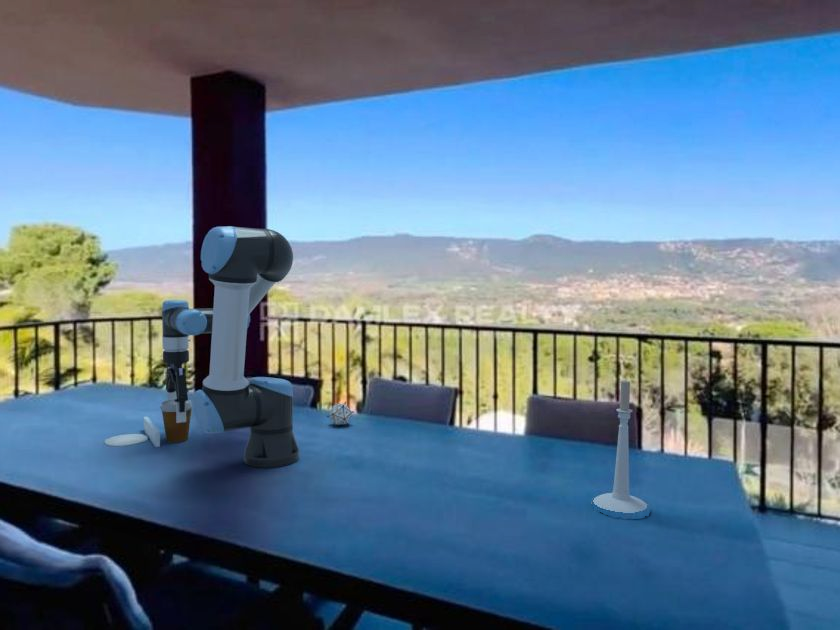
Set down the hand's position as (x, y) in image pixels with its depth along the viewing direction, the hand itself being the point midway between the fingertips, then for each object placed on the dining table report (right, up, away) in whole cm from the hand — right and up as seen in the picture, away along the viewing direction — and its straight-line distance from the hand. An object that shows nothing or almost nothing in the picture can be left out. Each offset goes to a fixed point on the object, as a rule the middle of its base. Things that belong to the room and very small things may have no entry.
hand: (176, 417), depth 185 cm
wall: (-9, -7, +2) cm, 11 cm away
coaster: (-15, -7, -1) cm, 17 cm away
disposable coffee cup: (0, -7, 0) cm, 7 cm away
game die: (+48, -7, +20) cm, 53 cm away
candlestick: (+122, -13, -49) cm, 133 cm away
